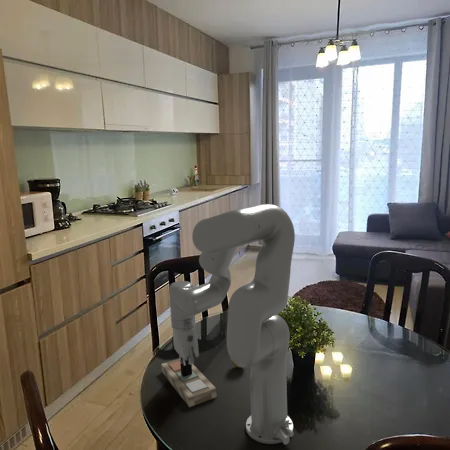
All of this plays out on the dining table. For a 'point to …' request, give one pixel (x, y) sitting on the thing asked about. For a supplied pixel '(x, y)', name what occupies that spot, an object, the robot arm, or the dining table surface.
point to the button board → (181, 386)
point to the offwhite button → (196, 386)
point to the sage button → (186, 377)
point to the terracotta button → (175, 366)
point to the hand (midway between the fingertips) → (186, 374)
